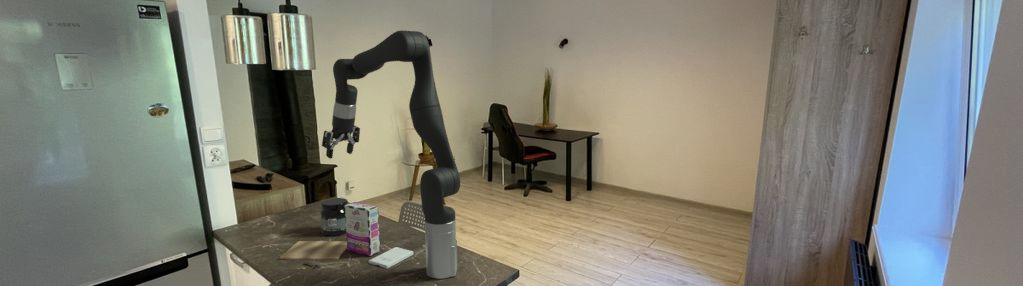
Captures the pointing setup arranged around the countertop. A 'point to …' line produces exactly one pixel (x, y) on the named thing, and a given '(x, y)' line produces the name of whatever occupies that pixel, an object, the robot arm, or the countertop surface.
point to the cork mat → (316, 250)
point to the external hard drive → (391, 257)
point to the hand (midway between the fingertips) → (339, 155)
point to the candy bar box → (362, 228)
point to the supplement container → (333, 216)
